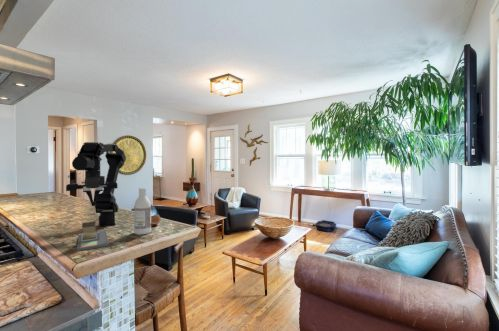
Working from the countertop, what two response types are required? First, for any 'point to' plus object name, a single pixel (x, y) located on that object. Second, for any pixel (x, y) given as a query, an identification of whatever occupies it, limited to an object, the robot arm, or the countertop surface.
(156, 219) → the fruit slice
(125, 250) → the countertop surface
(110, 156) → the robot arm
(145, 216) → the bath foam
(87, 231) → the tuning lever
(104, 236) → the base
